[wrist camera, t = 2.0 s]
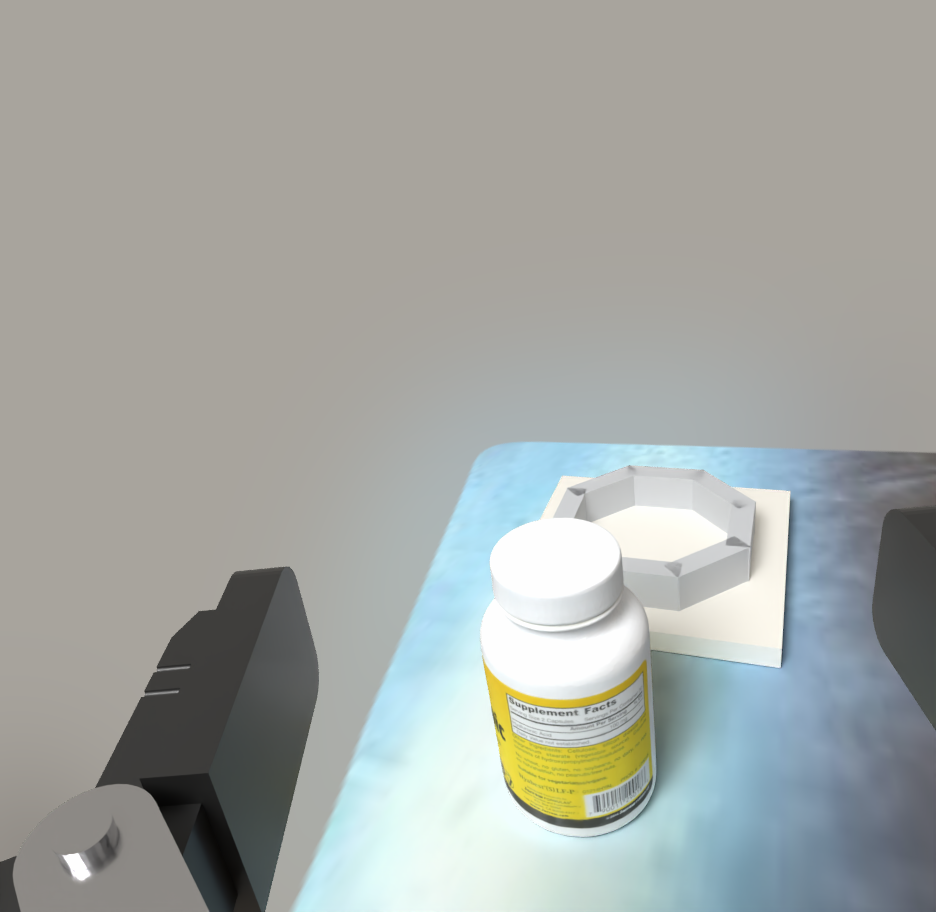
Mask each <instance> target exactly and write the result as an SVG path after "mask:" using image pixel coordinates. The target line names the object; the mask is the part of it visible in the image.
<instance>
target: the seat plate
mask: <svg viewBox="0 0 936 912" xmlns="http://www.w3.org/2000/svg"><path fill="white" fill-rule="evenodd" d="M789 506H790V491H781V490H767V489H752V488H737V487H731V486H729V485H727V484H726V483H724V482H722V481H721V480H719V479H717V478H716V477H714V476H712V475H711V474H709V473H707V472H706V471H704V470H696V469H679V468H663V467H646V466H630V465H629V466H626V467H624V468H621V469H618V470H615V471H613V472H610V473H607V474H604V475H601V476H599V477H596V478H588V477H573V476H562V477H561V479H560V481H559V483H558V485H557V487H556V489H555V491H554V493H553V495H552V497H551V499H550V501H549V503H548V505H547V507H546V508H545V510H544V512H543V514H542V516H541V518H540V520H542V519H550V518H575V519H581V520H585V521H589V522H592V523H595V524H597V525H599V526H601V527H603V528H604V529H606V530H607V531H609V532H610V533H611V534H612V535H613V536H614V537H615V539H616V540H617V541H618V543H619V546H620V549H621V554H622V565H623V576H624V582H623V583H624V585H625V586H626V587H628V588H629V589H630V590H631V591H632V592H633V593H634V594H635V595H636V597H637V598H638V599H639V601H640V602H641V604H642V605H643V607H644V609H645V612H646V615H647V618H648V623H649V632H650V646H651V650H657V651H664V652H671V653H678V654H685V655H692V656H699V657H706V658H713V659H720V660H727V661H734V662H741V663H748V664H755V665H762V666H769V667H776V668H781V655H782V637H783V618H784V600H785V581H786V562H787V544H788V525H789Z"/></svg>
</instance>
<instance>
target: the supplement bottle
mask: <svg viewBox="0 0 936 912" xmlns="http://www.w3.org/2000/svg"><path fill="white" fill-rule="evenodd" d="M490 570H491V577H492V588H493V593H494V596H495V598H494V599H493V601H492V602H491V603H490V605H489V606H488V608H487V610H486V612H485V614H484V616H483V620H482V624H481V629H480V642H481V651H482V657H483V663H484V669H485V674H486V680H487V685H488V690H489V696H490V701H491V708H492V714H493V718H494V724H495V729H496V736H497V741H498V747H499V753H500V759H501V764H502V770H503V774H504V779H505V783H506V787H507V790H508V792H509V795H510V797H511V799H512V801H513V802H514V804H515V805H516V807H517V808H518V809H519V810H520V812H521V813H522V814H523V815H524V816H526V817H527V818H528V819H529V820H530V821H532V822H533V823H535V824H537V825H538V826H540V827H542V828H544V829H546V830H548V831H551V832H554V833H557V834H562V835H566V836H576V837H590V836H597V835H602V834H605V833H609V832H612V831H614V830H617V829H619V828H621V827H622V826H624V825H626V824H627V823H629V822H630V821H632V820H633V819H634V818H635V817H636V816H637V815H638V814H639V813H640V812H641V811H642V810H643V809H644V807H645V806H646V804H647V803H648V801H649V799H650V797H651V795H652V792H653V790H654V786H655V781H656V745H655V726H654V707H653V686H652V667H651V646H650V632H649V623H648V618H647V615H646V612H645V609H644V607H643V605H642V604H641V602H640V601H639V599H638V598H637V597H636V595H635V594H634V593H633V592H632V591H631V590H630V589H629V588H628V587H626V586H625V585H624V583H623V582H624V576H623V565H622V554H621V549H620V546H619V543H618V541H617V540H616V539H615V537H614V536H613V535H612V534H611V533H610V532H609V531H607V530H606V529H604V528H603V527H601V526H599V525H597V524H595V523H592V522H589V521H585V520H581V519H575V518H550V519H542V520H538V521H533V522H530V523H527V524H524V525H522V526H520V527H518V528H516V529H514V530H512V531H510V532H509V533H507V534H506V535H505V536H503V537H502V538H501V539H500V540H499V541H498V542H497V544H496V545H495V547H494V549H493V551H492V553H491V556H490Z"/></svg>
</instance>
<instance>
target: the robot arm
mask: <svg viewBox="0 0 936 912" xmlns="http://www.w3.org/2000/svg"><path fill="white" fill-rule="evenodd" d="M872 613H873V622H874V627H875V631H876V635H877V638H878V640H879V643H880V645H881V647H882V649H883V651H884V653H885V654H886V656H887V657H888V659H889V660H890V662H891V663H892V665H893V666H894V668H895V669H896V671H897V672H898V674H899V675H900V677H901V679H902V680H903V682H904V683H905V685H906V686H907V688H908V689H909V691H910V692H911V694H912V695H913V697H914V698H915V700H916V701H917V703H918V704H919V706H920V707H921V709H922V710H923V712H924V714H925V715H926V717H927V718H928V720H929V721H930V723H931V724H932V726H933V727H934V729H935V730H936V505H933V506H923V507H913V508H902V509H893V510H890V511H889V512H888V513H887V514H886V516H885V519H884V522H883V527H882V534H881V541H880V549H879V557H878V564H877V572H876V580H875V587H874V595H873V604H872ZM318 684H319V672H318V660H317V654H316V650H315V646H314V642H313V639H312V635H311V631H310V627H309V624H308V620H307V616H306V613H305V609H304V605H303V601H302V598H301V594H300V590H299V587H298V583H297V579H296V576H295V574H294V572H293V570H292V569H291V568H290V567H278V568H267V569H257V570H247V571H237V572H235V573H234V574H233V575H232V576H231V578H230V580H229V582H228V584H227V587H226V589H225V591H224V593H223V595H222V598H221V600H220V602H219V604H218V606H217V609H216V610H208V611H199V612H198V613H197V614H196V615H195V616H194V617H193V618H191V620H190V621H188V622H187V623H186V624H185V625H184V626H183V628H181V629H180V630H179V631H178V632H177V633H176V634H175V635H174V636H173V637H172V638H171V640H170V642H169V644H168V646H167V648H166V650H165V652H164V654H163V655H162V658H161V660H160V661H159V663H158V665H157V672H155V673H153V675H152V677H151V679H150V681H149V683H148V685H147V687H146V689H145V697H141V699H140V701H139V703H138V705H137V707H136V709H135V711H134V713H133V715H132V717H131V719H130V720H129V722H128V725H127V726H126V728H125V730H124V732H123V734H122V736H121V738H120V740H119V742H118V744H117V746H116V748H115V750H114V752H113V754H112V756H111V758H110V760H109V762H108V764H107V766H106V768H105V770H104V772H103V774H102V776H101V778H100V780H99V782H98V783H97V786H96V787H95V788H94V789H91V790H89V791H86V792H83V793H81V794H79V795H77V796H75V797H73V798H71V799H70V800H68V801H66V802H65V803H63V804H61V805H60V806H58V807H57V808H56V809H54V810H53V811H52V812H50V813H49V814H48V815H47V816H46V817H45V818H44V819H43V820H42V821H40V822H39V824H38V825H37V826H36V827H35V828H34V829H33V830H32V831H31V832H30V834H29V835H28V837H27V838H26V840H25V841H24V842H23V844H22V846H21V848H20V850H19V852H18V854H17V856H15V857H12V858H10V859H7V860H5V861H2V862H0V912H265V910H266V905H267V901H268V897H269V893H270V889H271V885H272V881H273V877H274V872H275V868H276V864H277V860H278V856H279V852H280V848H281V843H282V840H283V835H284V831H285V827H286V823H287V819H288V815H289V811H290V807H291V802H292V799H293V794H294V790H295V786H296V782H297V778H298V773H299V770H300V766H301V761H302V757H303V753H304V749H305V745H306V741H307V737H308V733H309V728H310V724H311V720H312V716H313V712H314V708H315V704H316V700H317V694H318Z"/></svg>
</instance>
